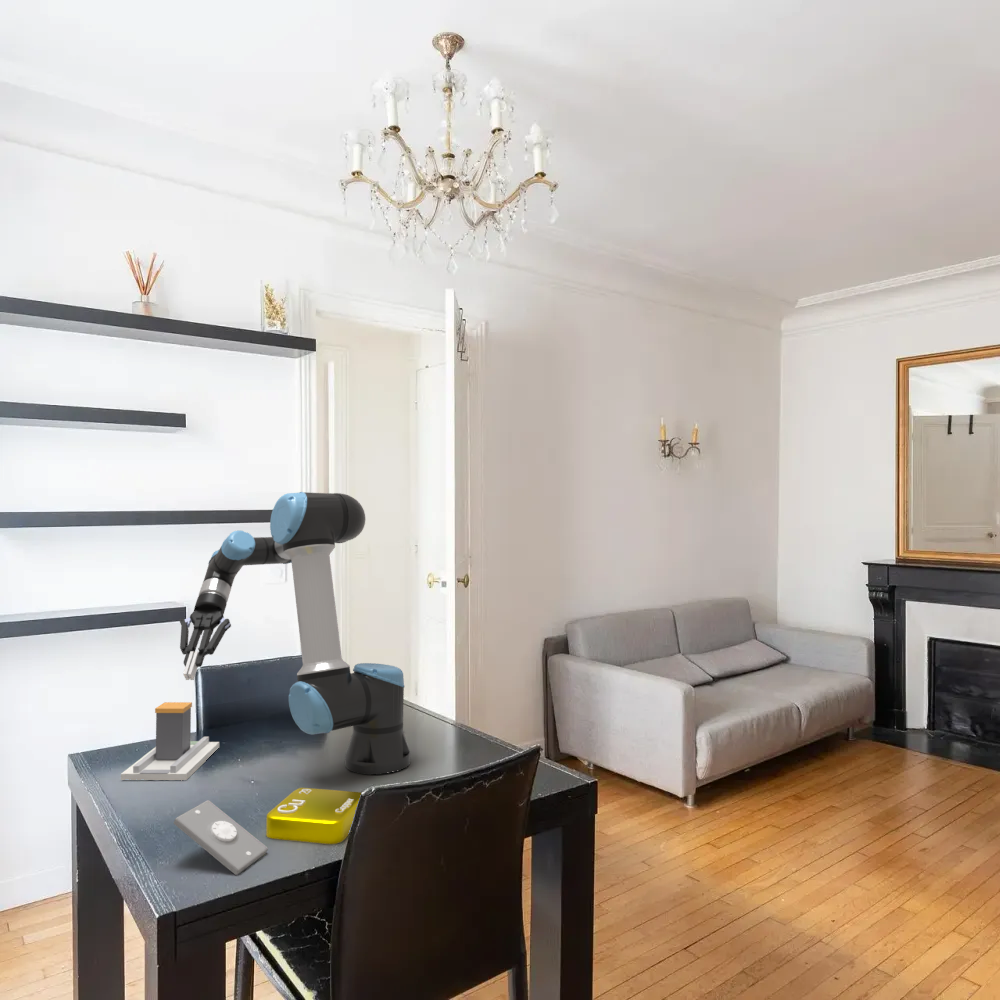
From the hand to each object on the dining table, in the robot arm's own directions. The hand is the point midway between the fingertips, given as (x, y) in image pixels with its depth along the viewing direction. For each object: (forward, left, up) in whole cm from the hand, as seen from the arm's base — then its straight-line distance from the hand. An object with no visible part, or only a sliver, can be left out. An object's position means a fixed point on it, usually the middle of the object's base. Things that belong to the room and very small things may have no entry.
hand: (188, 676), depth 187 cm
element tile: (-57, -13, -19) cm, 61 cm away
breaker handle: (-8, +5, -16) cm, 19 cm away
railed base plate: (-8, +5, -18) cm, 20 cm away
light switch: (-62, +5, -18) cm, 65 cm away
